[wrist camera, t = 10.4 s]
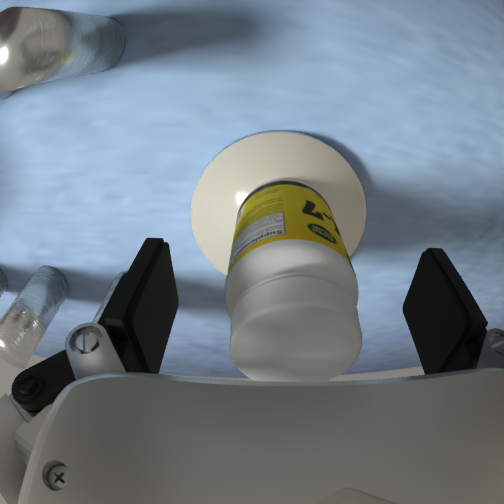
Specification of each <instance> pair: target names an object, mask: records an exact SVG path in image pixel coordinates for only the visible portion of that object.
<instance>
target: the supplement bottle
mask: <svg viewBox="0 0 504 504" xmlns="http://www.w3.org/2000/svg"><path fill="white" fill-rule="evenodd" d="M357 302H358V283H357V279H356V274H355V272H354V269H353V266H352V264H351V262H350V259H349V256H348V253H347V250H346V248H345V245H344V243H343V240H342V237H341V235H340V232H339V230H338V227H337V225H336V222H335V220H334V217H333V214H332V212H331V209H330V207H329V205H328V203H327V202H326V200H325V199H324V197H323V196H322V195H321V194H320V193H319V192H318V191H317V190H316V189H314V188H313V187H312V186H310V185H308V184H306V183H304V182H302V181H299V180H294V179H276V180H271V181H268V182H265V183H263V184H261V185H259V186H258V187H256V188H255V189H253V190H252V191H251V192H250V193H249V194H248V195H247V196H246V198H245V199H244V200H243V202H242V204H241V206H240V208H239V211H238V214H237V219H236V225H235V231H234V236H233V242H232V248H231V254H230V261H229V266H228V272H227V278H226V283H225V304H226V308H227V312H228V314H229V316H230V318H231V334H230V354H231V357H232V360H233V362H234V363H235V365H236V366H237V368H238V369H239V370H240V371H241V372H242V373H244V374H245V375H246V376H248V377H249V378H251V379H253V380H255V381H276V382H322V381H328V380H330V379H333V378H335V377H337V376H338V375H340V374H342V373H343V372H344V371H346V370H347V369H348V368H349V367H350V366H351V365H352V364H353V363H354V361H355V360H356V358H357V357H358V355H359V353H360V350H361V347H362V332H361V328H360V323H359V319H358V311H357V308H356V306H357Z"/></svg>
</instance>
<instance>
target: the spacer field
mask: <svg viewBox="0 0 504 504" xmlns="http://www.w3.org/2000/svg"><path fill="white" fill-rule="evenodd" d="M124 46H125V34H124V30H123V28H122V26H121V25H120V24H119V23H118V22H117V21H115V20H114V19H111V18H107V17H102V16H96V15H90V14H84V13H78V12H70V11H63V10H54V9H43V8H30V7H11V8H7V9H5V10H3V11H2V12H0V100H2V99H5V98H7V97H9V96H10V95H11V94H12V93H13V92H14V90H16V89H20V88H24V87H28V86H32V85H36V84H40V83H44V82H48V81H53V80H58V79H63V78H68V77H73V76H79V75H84V74H91V73H97V72H102V71H105V70H107V69H109V68H110V67H112V66H113V65H114V64H115V63H116V62H117V61H118V59H119V58H120V56H121V54H122V52H123V50H124ZM126 272H128V271H124V272H121V273H120V274H118V275H117V277H116V278H115V280H114V282H113V284H112V286H111V287H110V289H109V291H108V293H107V295H106V296H105V298H104V300H103V302H102V304H101V306H100V308H99V309H98V311H97V313H96V315H95V317H94V319H93V321H92V323H97V322H98V320H99V318H100V316H101V314H102V312H103V310H104V308H105V306H106V305H107V303H108V301H109V299H110V297H111V295H112V293H113V291H114V289H115V287H116V286H117V284H118V282H119V280H120V278H121V276H122V275H123V274H124V273H126ZM7 287H8V283H7V279H6V277H5V275H4V274H3V272H2V271H1V270H0V297H1V295H2V294H3V293H4V292H5V290H6V289H7ZM68 294H69V285H68V282H67V281H66V279H65V278H64V276H63V275H62V274H61V273H60V272H59V271H57V270H56V269H54V268H52V267H49V266H42V267H40V268H39V269H38V270H37V272H36V273H35V274H34V275H33V277H32V278H31V279H30V281H29V282H28V283H27V284H26V286H25V287H24V288H23V290H22V291H21V292H20V294H19V295H18V296H17V298H16V299H15V300H14V302H13V303H12V304H11V306H10V307H9V309H8V310H7V311H6V313H5V314H4V316H3V317H2V318H1V320H0V357H1V358H2V359H4V360H5V361H6V362H8V363H9V364H11V365H12V366H14V367H17V368H25V367H26V365H27V363H28V362H29V360H30V358H31V356H32V354H33V352H34V351H35V349H36V347H37V345H38V343H39V342H40V340H41V338H42V337H43V335H44V333H45V331H46V330H47V328H48V326H49V325H50V323H51V321H52V320H53V318H54V316H55V315H56V313H57V312H58V310H59V308H60V307H61V305H62V304H63V302H64V300H65V299H66V297H67V296H68Z"/></svg>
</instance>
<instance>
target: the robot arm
mask: <svg viewBox="0 0 504 504" xmlns="http://www.w3.org/2000/svg"><path fill="white" fill-rule="evenodd" d="M177 309H178V294H177V289H176V284H175V278H174V272H173V267H172V261H171V255H170V249H169V244H168V243H167V242H164V240H163V239H162V238H147V239H146V240H145V242H144V243H143V245H142V247H141V249H140V250H139V252H138V254H137V256H136V258H135V259H134V261H133V263H132V265H131V267H130V268H129V270H128V272H126V273H124V274H123V275H122V276H121V278H120V280H119V282H118V284H117V286H116V287H115V289H114V291H113V293H112V295H111V297H110V299H109V301H108V303H107V305H106V306H105V308H104V310H103V312H102V314H101V316H100V318H99V320H98V322H97V323H84V324H81V325H79V326H77V327H75V328H74V329H73V330H72V331H71V332H70V333H69V334H68V336H67V337H66V341H65V348H66V349H65V350H63V351H61V352H59V353H57V354H55V355H53V356H51V357H49V358H47V359H46V360H44V361H42V362H40V363H38V364H36V365H34V366H32V367H30V368H28V369H26V370H24V371H23V372H21V373H20V374H19V375H18V376H17V377H16V378H15V380H14V382H13V384H12V393H11V394H10V395H9V396H8V395H7V394H5V395H4V396H2V397H1V398H0V493H1V494H2V496H3V497H4V499H5V500H6V502H7V503H8V504H504V331H503V330H501V329H496V328H494V329H490V330H489V331H487V330H486V326H487V324H488V322H487V321H486V319H485V317H484V315H483V313H482V312H481V310H480V308H479V306H478V305H477V303H476V301H475V299H474V298H473V296H472V294H471V293H470V291H469V289H468V288H467V286H466V284H465V283H464V281H463V280H462V278H461V276H460V275H459V273H458V272H457V270H456V269H455V267H454V265H453V264H452V262H451V261H450V259H449V258H448V256H447V255H446V253H445V252H444V250H443V249H441V248H427V250H426V251H424V252H423V253H422V255H421V258H420V261H419V264H418V266H417V269H416V272H415V275H414V278H413V280H412V283H411V286H410V288H409V291H408V293H407V296H406V298H405V301H404V304H403V314H404V316H405V319H406V321H407V324H408V327H409V330H410V332H411V335H412V338H413V341H414V343H415V346H416V349H417V352H418V355H419V358H420V361H421V364H422V367H423V370H424V373H425V375H418V376H410V377H398V378H386V379H372V380H371V379H370V380H352V381H322V382H276V381H245V380H226V379H212V378H197V377H185V376H174V375H164V374H158V373H159V370H160V366H161V363H162V359H163V356H164V352H165V349H166V345H167V342H168V338H169V335H170V332H171V328H172V325H173V322H174V318H175V315H176V312H177Z"/></svg>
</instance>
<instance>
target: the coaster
mask: <svg viewBox="0 0 504 504" xmlns="http://www.w3.org/2000/svg"><path fill="white" fill-rule="evenodd" d="M276 179H294V180H299V181H302V182H304V183H306V184H308V185H310V186H312V187H313V188H314V189H316V190H317V191H318V192H319V193H320V194H321V195H322V196H323V197H324V199H325V200H326V202H327V203H328V205H329V207H330V209H331V212H332V214H333V217H334V220H335V222H336V225H337V227H338V230H339V232H340V235H341V237H342V240H343V243H344V245H345V248H346V250H347V253H348V256H349V258H350V257H351V255H352V254H353V253H354V251H355V249H356V248H357V246H358V244H359V242H360V240H361V237H362V235H363V232H364V228H365V223H366V215H367V212H366V200H365V194H364V191H363V188H362V185H361V183H360V181H359V179H358V177H357V175H356V173H355V172H354V170H353V169H352V167H351V166H350V165H349V163H348V162H347V161H346V160H345V159H344V157H343V156H342V155H341V154H340V153H339V152H338V151H336V150H335V149H334V148H333V147H331V146H330V145H329V144H327V143H325V142H323V141H322V140H320V139H318V138H315V137H313V136H310V135H308V134H304V133H300V132H296V131H288V130H269V131H263V132H258V133H254V134H251V135H248V136H245V137H243V138H241V139H239V140H236V141H235V142H233V143H231V144H230V145H228V146H227V147H225V148H224V149H223V150H222V151H220V152H219V153H218V154H217V155H216V156H215V157H214V158H213V159H212V161H211V162H210V163H209V164H208V166H207V167H206V169H205V170H204V172H203V173H202V175H201V177H200V179H199V181H198V184H197V186H196V188H195V191H194V195H193V198H192V205H191V223H192V229H193V232H194V236H195V239H196V241H197V243H198V245H199V247H200V249H201V251H202V252H203V254H204V255H205V257H206V258H207V259H208V260H209V261H210V263H211V264H212V265H213V266H214V267H215V268H217V269H218V270H219V271H220V272H221V273H223V274H224V275H226V276H227V272H228V266H229V261H230V254H231V248H232V242H233V236H234V231H235V225H236V219H237V214H238V211H239V208H240V206H241V204H242V202H243V200H244V199H245V198H246V196H247V195H248V194H249V193H250V192H251V191H252V190H253V189H255V188H256V187H258V186H259V185H261V184H263V183H265V182H268V181H271V180H276Z"/></svg>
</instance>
